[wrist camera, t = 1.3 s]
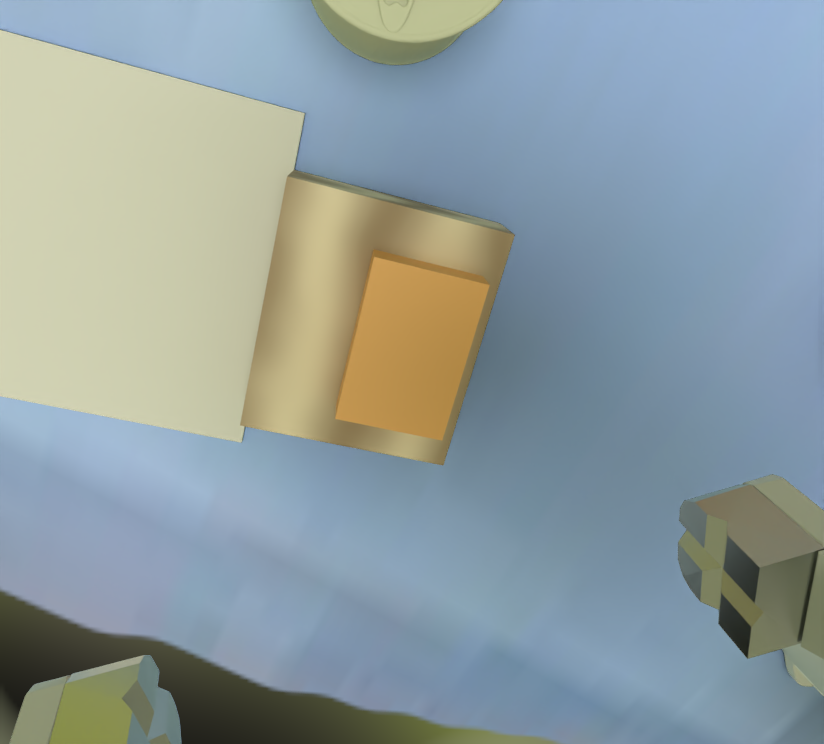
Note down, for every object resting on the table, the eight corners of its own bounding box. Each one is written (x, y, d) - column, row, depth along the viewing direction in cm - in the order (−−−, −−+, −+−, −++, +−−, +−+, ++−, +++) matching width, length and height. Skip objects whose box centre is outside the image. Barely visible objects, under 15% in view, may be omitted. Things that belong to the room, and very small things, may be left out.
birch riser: (499, 223, 39) (514, 234, 35) (436, 435, 43) (443, 465, 40) (294, 169, 37) (286, 176, 33) (250, 397, 41) (239, 425, 38)
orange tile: (482, 276, 36) (489, 284, 34) (438, 424, 39) (442, 440, 37) (373, 249, 35) (374, 256, 33) (336, 403, 38) (335, 418, 36)
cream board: (305, 113, 36) (304, 113, 35) (242, 439, 42) (241, 442, 42) (-13, 26, 33) (-17, 25, 33) (-27, 387, 40) (-30, 390, 40)
